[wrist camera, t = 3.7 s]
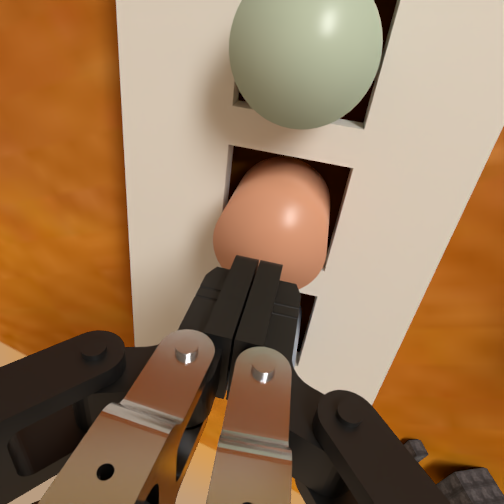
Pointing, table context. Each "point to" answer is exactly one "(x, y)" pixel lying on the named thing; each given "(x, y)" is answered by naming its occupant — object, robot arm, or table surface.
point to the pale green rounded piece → (305, 58)
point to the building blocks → (463, 482)
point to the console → (317, 149)
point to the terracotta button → (277, 219)
